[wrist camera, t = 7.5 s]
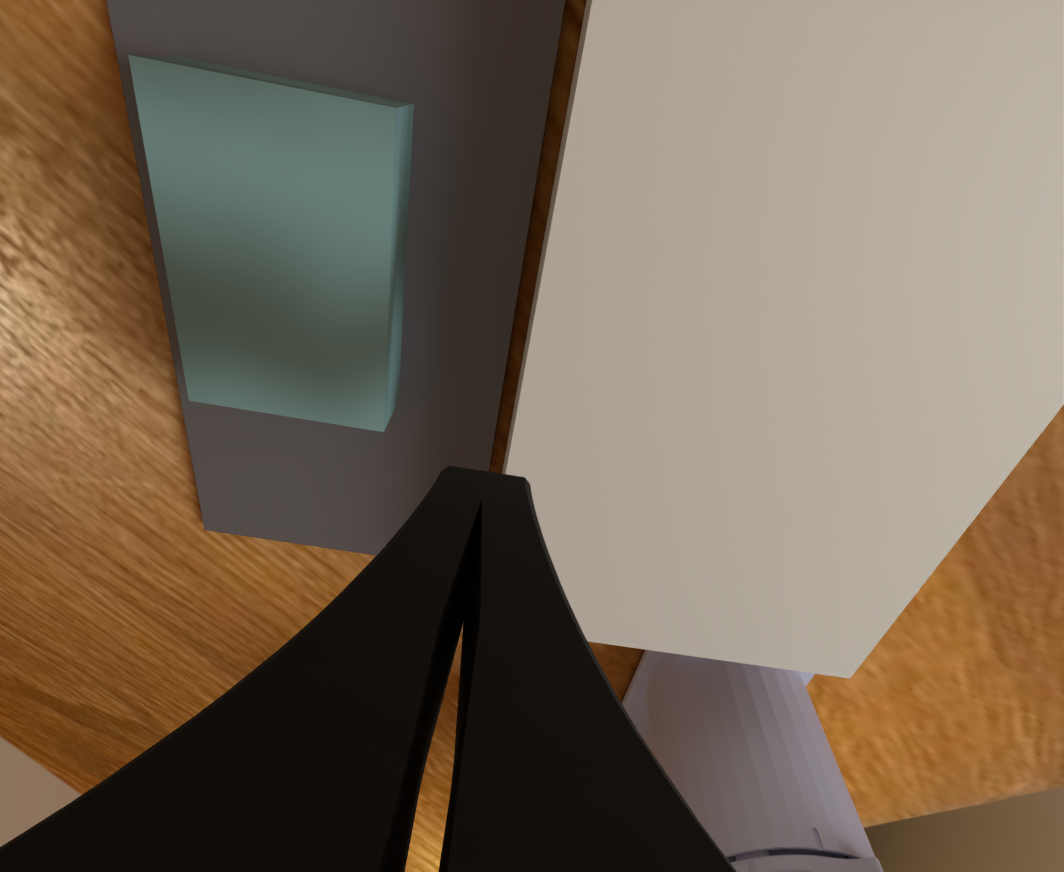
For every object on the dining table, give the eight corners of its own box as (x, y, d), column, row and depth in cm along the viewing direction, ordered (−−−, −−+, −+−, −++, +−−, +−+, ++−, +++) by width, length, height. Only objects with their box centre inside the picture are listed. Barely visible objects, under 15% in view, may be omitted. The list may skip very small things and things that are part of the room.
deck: (809, 595, 25) (850, 678, 21) (488, 547, 24) (477, 625, 20) (1228, -66, 13) (1468, -115, 10) (624, -212, 12) (651, -322, 9)
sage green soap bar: (188, 400, 18) (220, 372, 19) (383, 432, 18) (398, 401, 20) (128, 55, 13) (177, 56, 14) (395, 107, 13) (414, 104, 15)
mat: (473, 562, 24) (472, 569, 24) (209, 523, 24) (204, 529, 23) (590, -151, 12) (590, -157, 12) (69, -271, 12) (54, -281, 11)
